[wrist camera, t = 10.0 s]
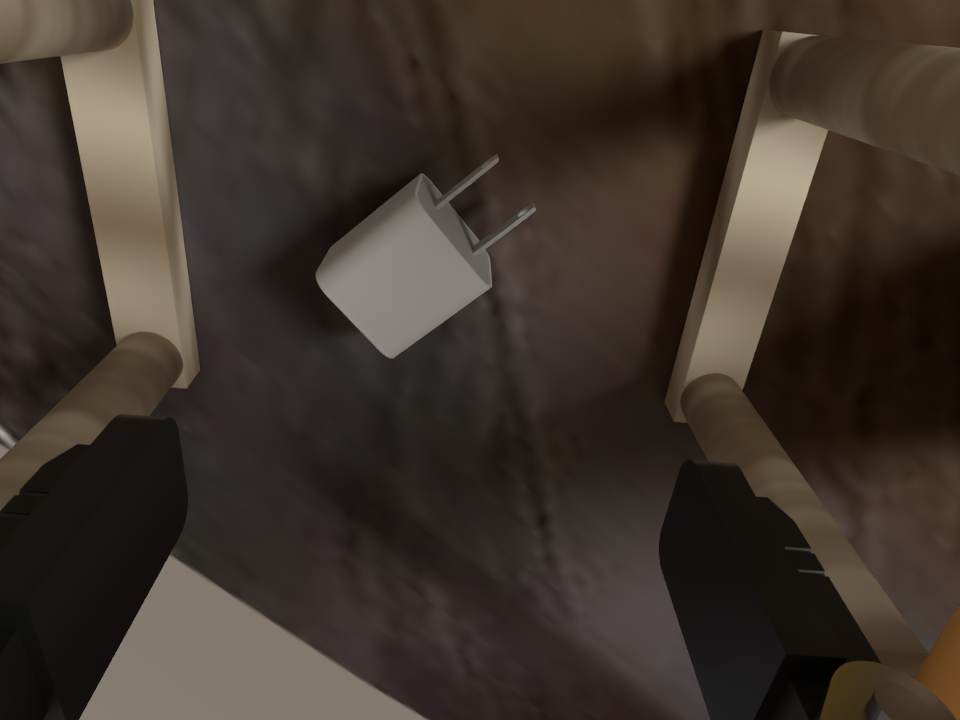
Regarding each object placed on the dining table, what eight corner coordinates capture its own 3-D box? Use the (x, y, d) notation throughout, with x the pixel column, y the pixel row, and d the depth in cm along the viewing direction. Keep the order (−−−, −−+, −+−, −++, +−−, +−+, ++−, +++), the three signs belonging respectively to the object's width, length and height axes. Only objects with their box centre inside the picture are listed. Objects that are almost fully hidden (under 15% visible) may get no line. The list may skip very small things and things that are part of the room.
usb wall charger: (334, 241, 25) (311, 280, 21) (479, 122, 23) (480, 143, 19) (403, 317, 26) (393, 365, 23) (545, 212, 24) (557, 246, 21)
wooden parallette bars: (58, -44, 20) (-890, -155, 6) (842, 38, 22) (1543, 102, 8) (133, 365, 27) (-232, 758, 13) (725, 406, 28) (977, 801, 14)
